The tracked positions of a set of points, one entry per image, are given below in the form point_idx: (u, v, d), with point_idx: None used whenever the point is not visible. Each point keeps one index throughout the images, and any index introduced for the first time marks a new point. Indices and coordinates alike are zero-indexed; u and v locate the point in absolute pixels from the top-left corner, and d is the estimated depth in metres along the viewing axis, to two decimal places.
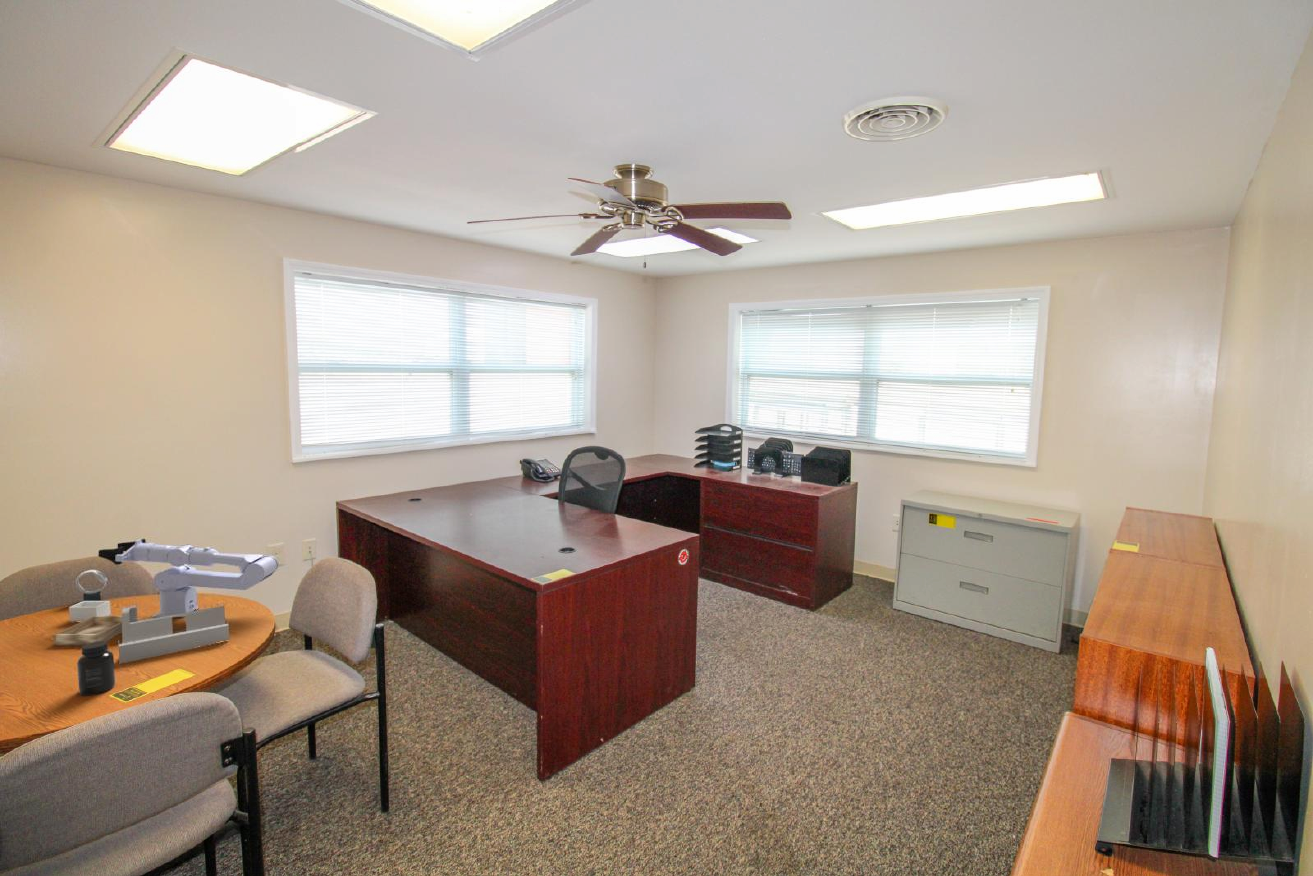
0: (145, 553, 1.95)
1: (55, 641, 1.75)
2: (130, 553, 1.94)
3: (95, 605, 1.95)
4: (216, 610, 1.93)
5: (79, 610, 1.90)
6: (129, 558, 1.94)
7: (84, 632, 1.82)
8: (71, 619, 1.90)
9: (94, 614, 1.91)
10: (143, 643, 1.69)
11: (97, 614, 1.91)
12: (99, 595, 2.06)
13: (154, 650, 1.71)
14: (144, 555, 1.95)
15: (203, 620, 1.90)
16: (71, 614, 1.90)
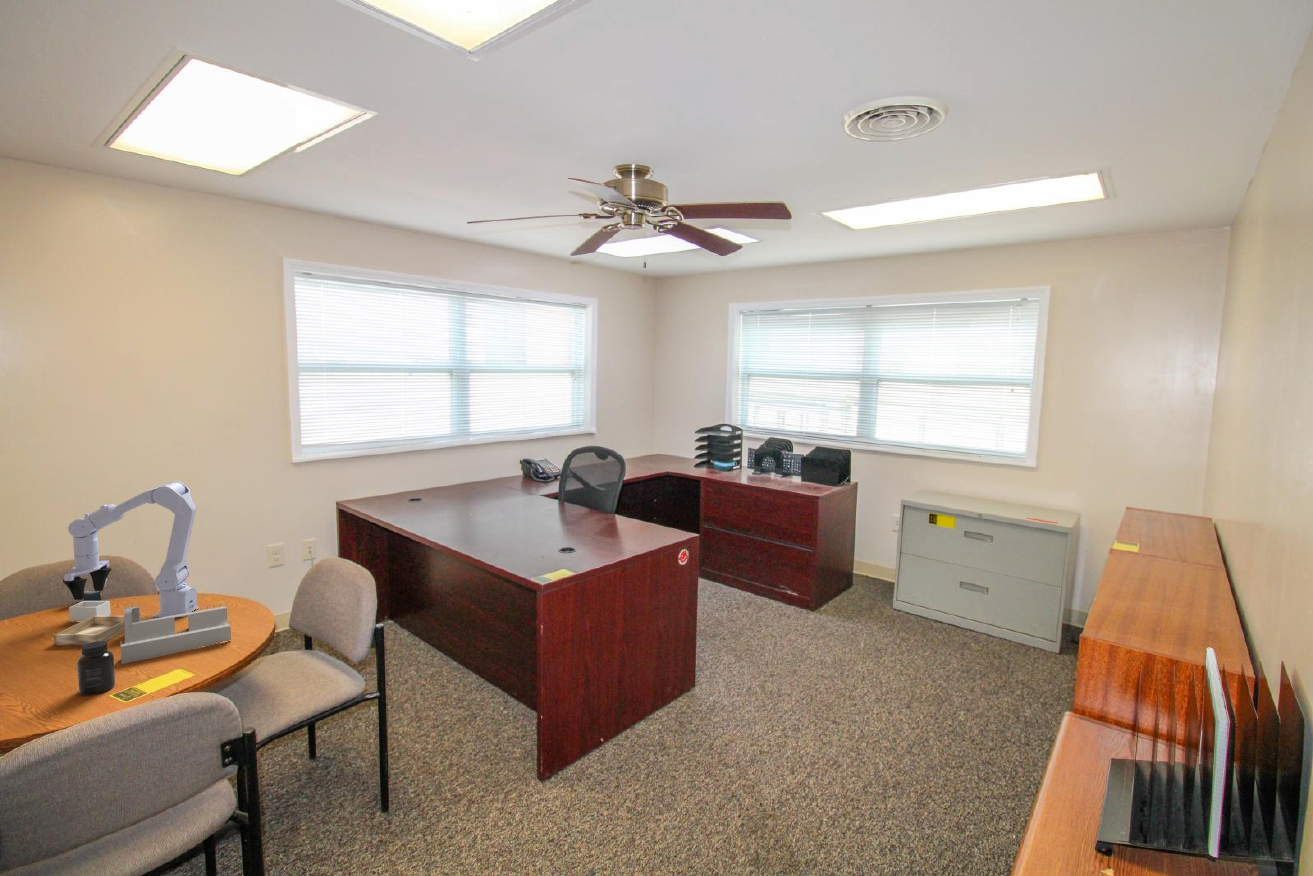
0: (76, 558, 1.88)
1: (55, 641, 1.75)
2: None
3: (95, 605, 1.95)
4: (218, 610, 1.93)
5: (79, 610, 1.90)
6: None
7: (84, 632, 1.82)
8: (71, 619, 1.90)
9: (94, 614, 1.91)
10: (145, 644, 1.69)
11: (97, 614, 1.91)
12: (99, 595, 2.06)
13: (156, 651, 1.71)
14: (79, 558, 1.88)
15: (205, 620, 1.90)
16: (71, 614, 1.90)
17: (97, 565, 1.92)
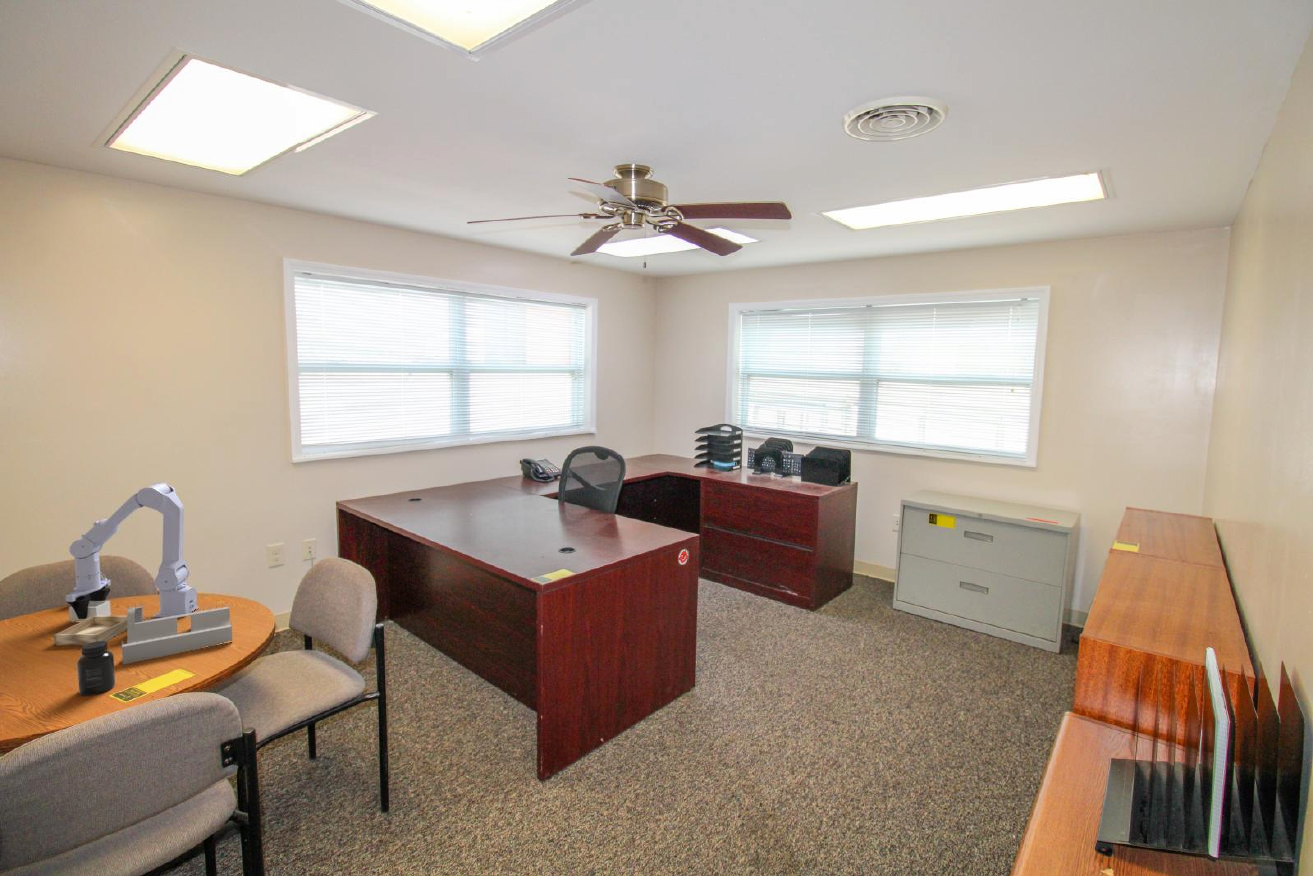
0: (78, 578, 1.89)
1: (55, 641, 1.75)
2: (78, 592, 1.89)
3: (95, 605, 1.95)
4: (221, 611, 1.93)
5: None
6: None
7: (84, 632, 1.82)
8: (71, 619, 1.90)
9: (94, 614, 1.91)
10: (146, 644, 1.69)
11: (97, 614, 1.91)
12: None
13: (157, 651, 1.70)
14: (80, 579, 1.89)
15: (208, 621, 1.90)
16: (71, 614, 1.90)
17: (98, 585, 1.93)
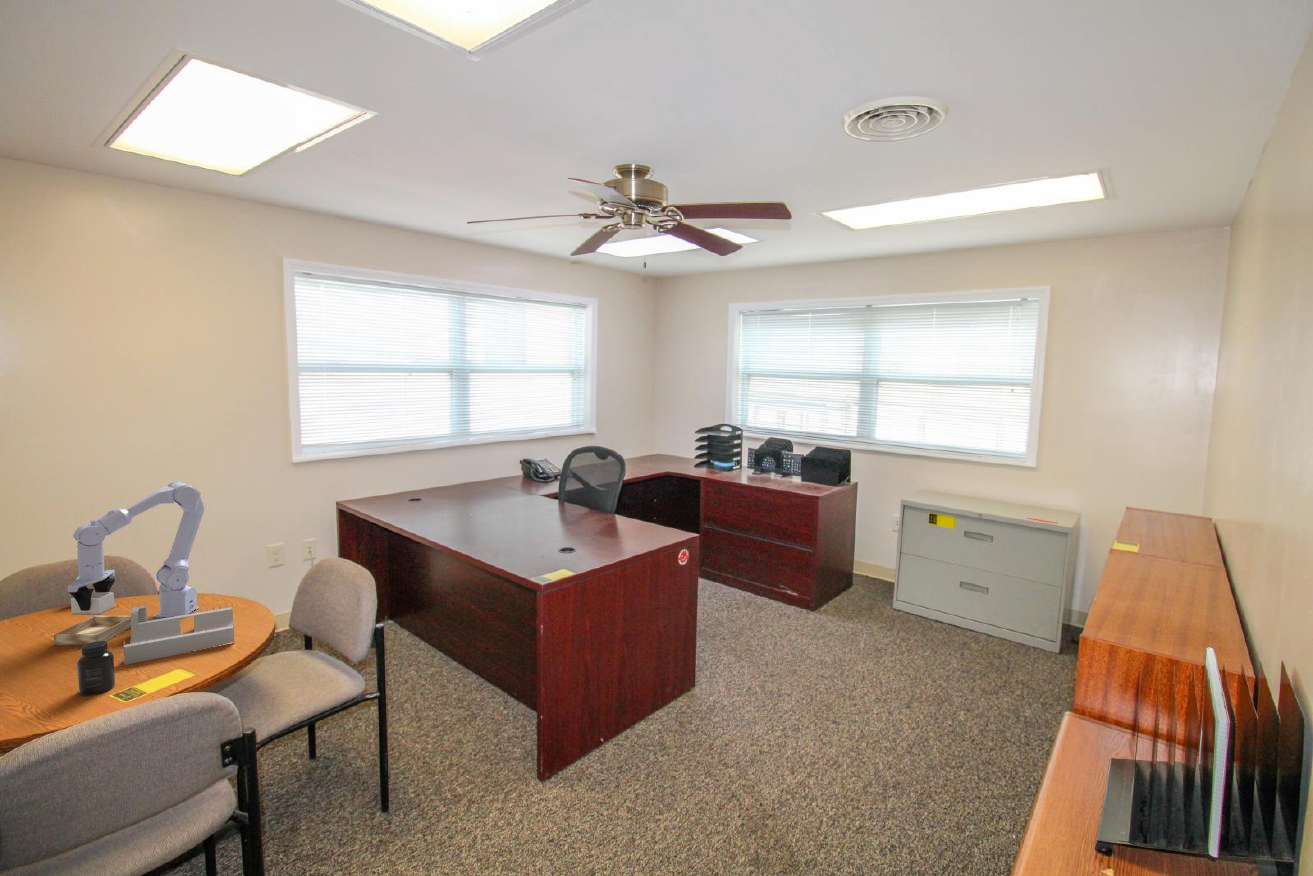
0: (81, 568, 1.79)
1: (55, 641, 1.75)
2: (81, 582, 1.79)
3: (98, 597, 1.85)
4: (224, 611, 1.92)
5: None
6: None
7: (84, 632, 1.82)
8: (73, 611, 1.80)
9: (96, 606, 1.80)
10: (148, 644, 1.68)
11: (100, 606, 1.81)
12: None
13: (159, 652, 1.70)
14: (83, 568, 1.79)
15: (211, 621, 1.90)
16: (73, 606, 1.80)
17: (102, 575, 1.83)
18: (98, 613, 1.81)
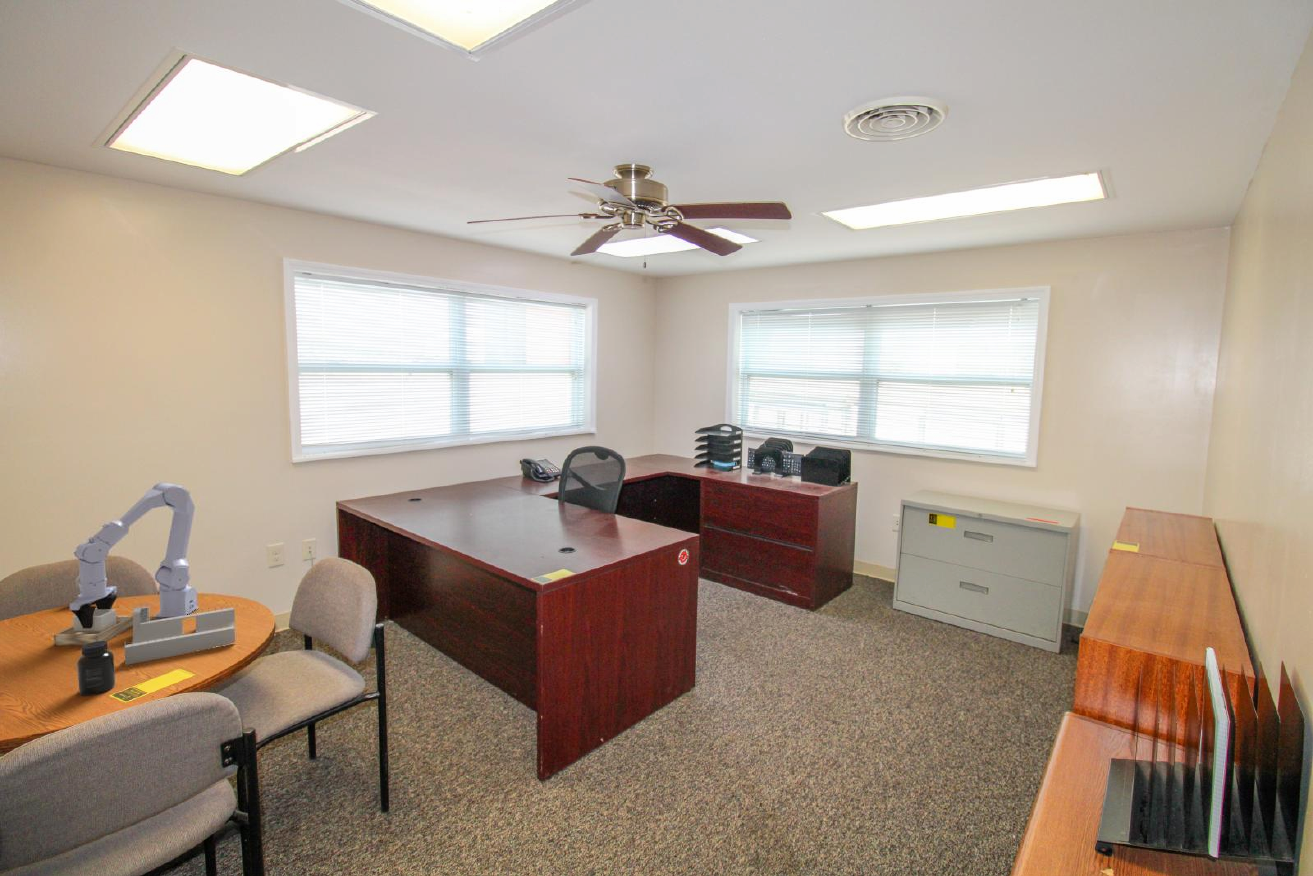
0: (82, 585, 1.78)
1: (55, 641, 1.75)
2: (83, 599, 1.78)
3: (100, 614, 1.84)
4: (226, 612, 1.92)
5: None
6: None
7: (84, 632, 1.82)
8: (75, 629, 1.79)
9: (99, 624, 1.79)
10: (149, 645, 1.68)
11: (102, 624, 1.80)
12: None
13: (160, 652, 1.70)
14: (85, 586, 1.78)
15: (213, 622, 1.90)
16: (75, 623, 1.79)
17: (104, 592, 1.82)
18: (100, 631, 1.80)
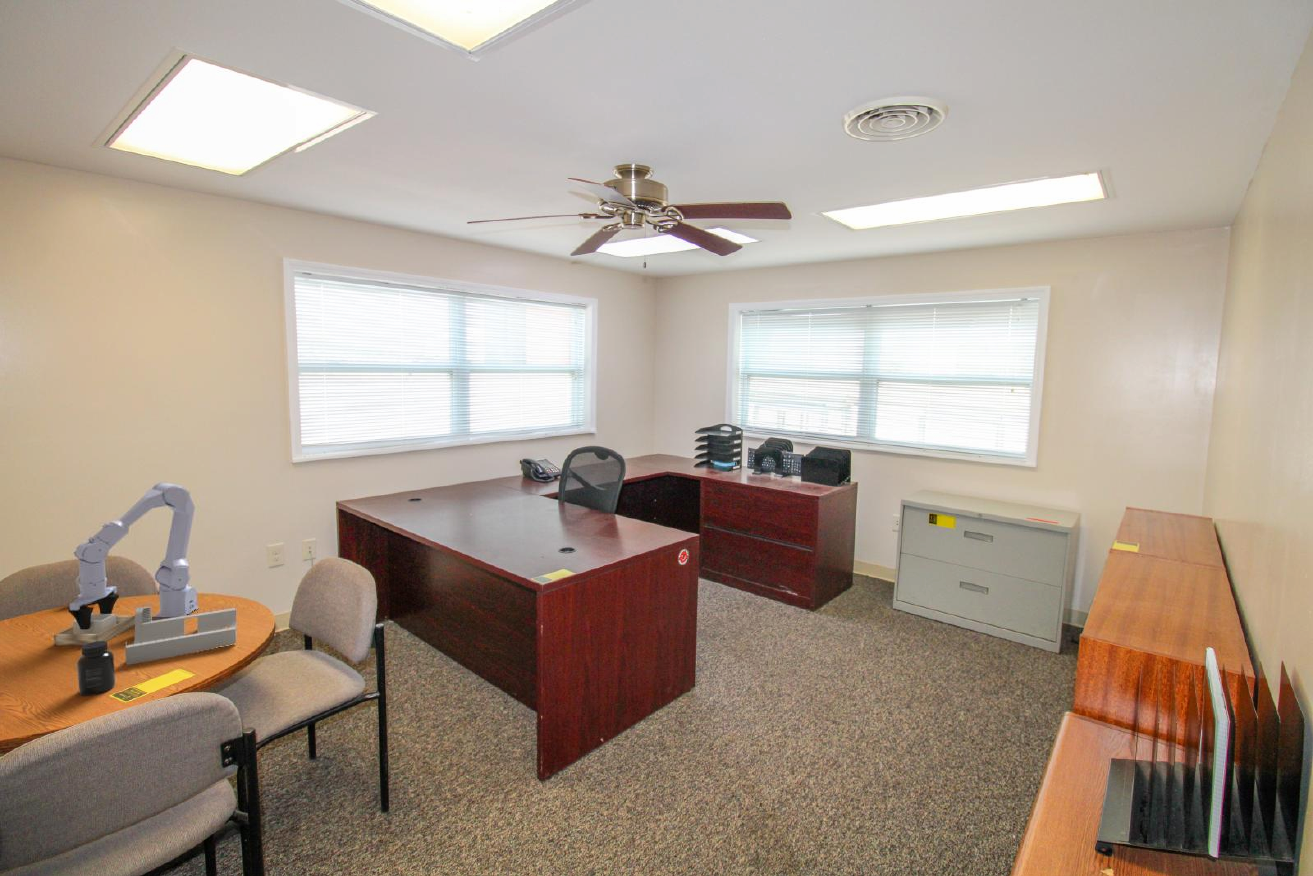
0: (82, 585, 1.78)
1: (55, 641, 1.75)
2: (83, 599, 1.78)
3: (100, 618, 1.84)
4: (228, 612, 1.92)
5: None
6: None
7: None
8: None
9: (99, 628, 1.80)
10: (149, 645, 1.68)
11: (102, 628, 1.80)
12: None
13: (161, 652, 1.70)
14: (85, 586, 1.78)
15: (214, 622, 1.89)
16: (75, 628, 1.79)
17: (104, 592, 1.81)
18: None
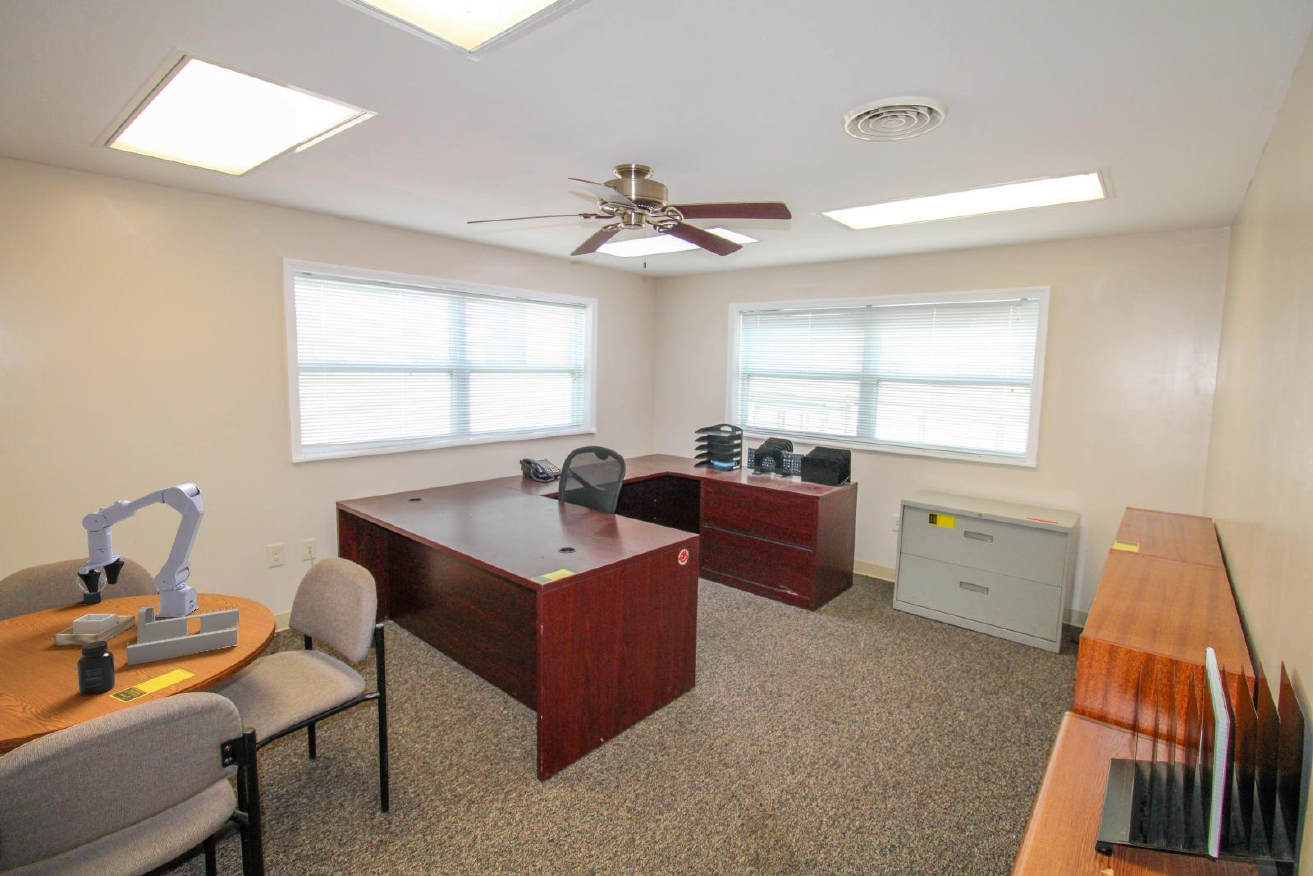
0: (91, 551, 1.91)
1: (55, 641, 1.75)
2: None
3: (100, 618, 1.84)
4: (230, 613, 1.91)
5: (83, 624, 1.79)
6: None
7: None
8: None
9: (99, 628, 1.80)
10: (151, 646, 1.68)
11: (102, 628, 1.80)
12: (99, 595, 2.06)
13: (162, 653, 1.69)
14: (93, 552, 1.91)
15: (217, 622, 1.89)
16: (75, 628, 1.79)
17: (111, 558, 1.95)
18: None
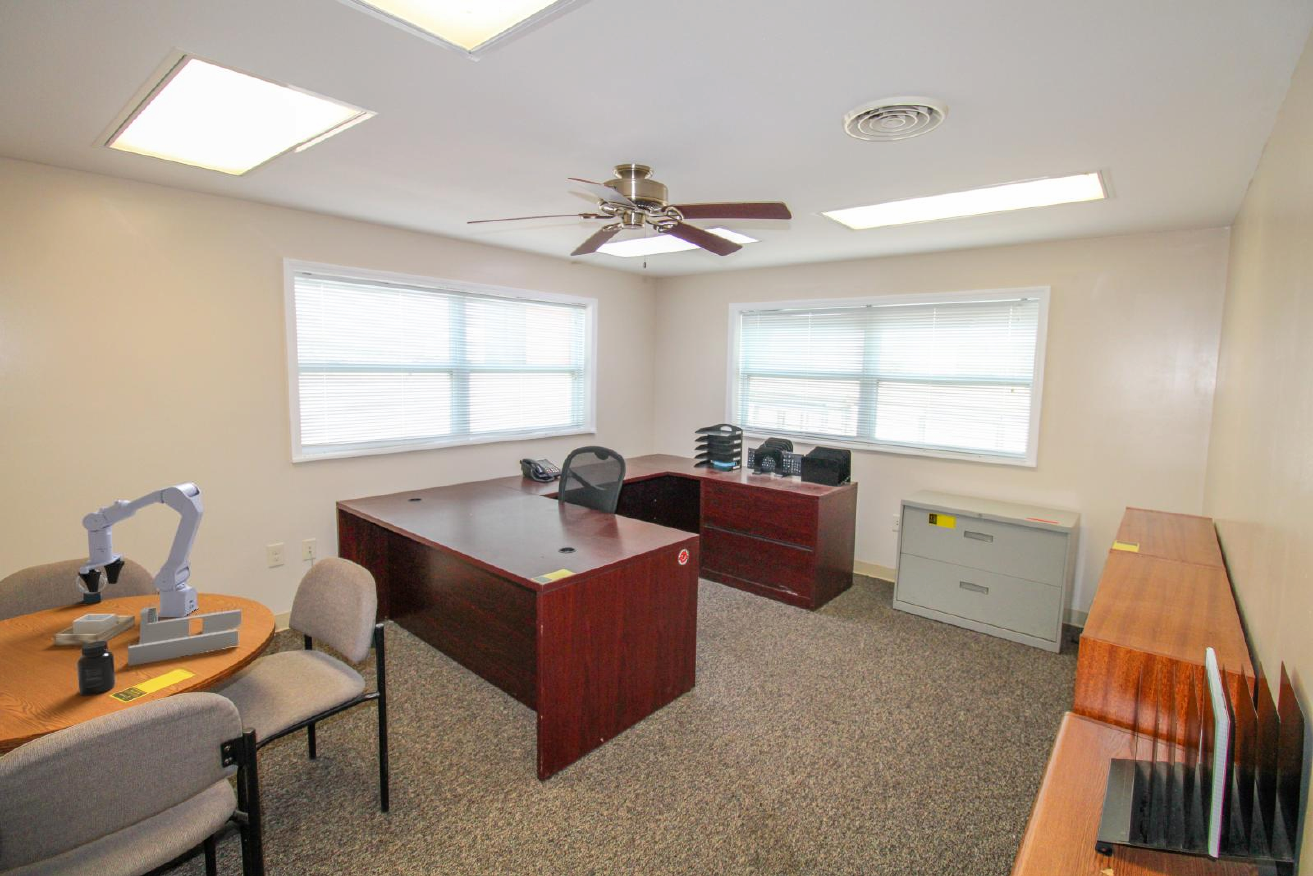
0: (91, 551, 1.91)
1: (55, 641, 1.75)
2: None
3: (100, 618, 1.84)
4: (232, 613, 1.91)
5: (83, 624, 1.79)
6: None
7: None
8: None
9: (99, 628, 1.80)
10: (152, 646, 1.67)
11: (102, 628, 1.80)
12: (99, 595, 2.06)
13: (163, 653, 1.69)
14: (93, 552, 1.91)
15: (219, 623, 1.89)
16: (75, 628, 1.79)
17: (111, 558, 1.95)
18: None
